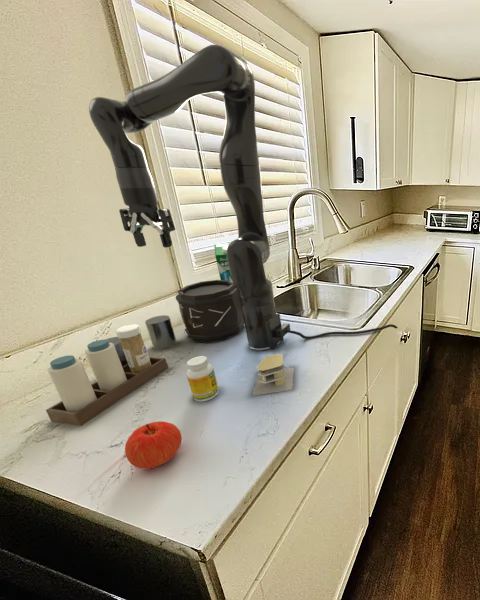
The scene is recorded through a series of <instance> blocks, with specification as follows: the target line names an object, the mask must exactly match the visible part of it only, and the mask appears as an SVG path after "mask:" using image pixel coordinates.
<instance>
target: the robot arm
mask: <svg viewBox="0 0 480 600" xmlns="http://www.w3.org/2000/svg"><path fill="white" fill-rule="evenodd" d="M255 82H256V81H255V76H254V72H253V70H252V67H251V66H250V63H248V62H247V60H245V59H244V58H243V57H242V56H240V55H238V54H237V53H235V52H234V51H232V50H230V49H229V48H227V47H226V46H222V45H220V44H210V45H207V46H205V47H203V48H202V49H200V50H198V51H197V52H196V53H194V54H193V55H192V56H190V57H189V58H187V59H186V60H185V61H184V62H181V64H179V65H178V66H177V67H175V68H173V69H172V70H171V71H169V72H167V73H166V74H163V75H162V76H159V77H158V78H156V79H154V80H152V81H151V80H150V81H149V82H147V83H144V84H141V85H139V86H137V87H134V88H132V89H130V90H129V91H127V93H126V95H125V101H121V100H117V99H112V98H108V97H104V96H97V97H93V98H92V100H90V102H89V105H88V114H89V117H90V120H91V122H92V124H93V126H94V128H95V129H96V131H97V132H98V134H99V136H100V138H101V139H102V141H103V143H104V144H105V146H106V147H107V149H108V151H109V153H110V156H111V160H112V163H113V168H114V171H115V178H116V181H117V184H118V188H119V191H120V193H121V198H122V200H123V204H124V205H125V206H127V208H120V209H119V210H118V211H119V216H120V219H121V223H122V227H123V230H124V232H130V233H131V234H132V236H133V239H134V242H135V244H136V246H137V247H138V248H141V247H146V246H147V242H146V239H145V235H144V233H143V232H142V231H143V229H144V227H145V226H150V227H151V228H153V229H155V230H156V231H157V232H158V233H159V237H160V241H161V245H162V248H165V249H167V248H170V247H172V244H173V242H172V239H171V238H172V237H171V235H170V234H171V232H173V231H176V226H175V224H174V220H173V217H172V214H171V211H170V209H169V208H160V209H159V207H158V205H159V203H160V201H159V197H158V193H157V190H156V186H155V183H154V179H153V176H152V173H151V171H150V169H149V164H148V160H147V157H146V154H145V150H144V148H143V147H142V146H141V145H140V144H138V143H135V142H133V141H132V140H130V138H129V136H128V135H127V134H136V133H139V132H142V131H144V130H145V129H146V128H149V126H151V125H152V124H153V122H156V121H158V120H161V119H164V118H166V117H169V116H171V115H173V114H175V113H178V112H179V111H180V110H181V109H182V108H183V107H184V106H185V104H186V103H187V102H188V101H189V100H191V99H193V98H195V97H198V96H200V95H205V94H210V93H217V94H219V95H222V99H223V104H224V105H223V106H224V111H225V127H224V132H223V135H222V139H221V143H220V146H219V152H218V162H219V169H220V176H221V182H222V186H223V189H224V191H225V194H226V196H227V198H228V200H229V202H230V204H231V206H232V208H233V210H234V214H235V216H236V217H235V218H236V222H237V223H236V224H237V233H238V235H237V238H235V239H233V240H232V241H231V242H229V243H230V244H229V245H228V247H227V261H228V266H229V270H230V274H231V277H232V281H233V284H234V286H235V287H236V289H237V291H238V295H239V300H240V305H241V310H242V315H243V320H244V324H243V325H244V329H245V334H246V338H247V343H248V344H247V345H248V349H249V350H250V351H252V352H266V351H274V350H276V349H277V348H278V347H279V346H280V345H281V344H282V343H283V342H284V341H285V339H284V337H285V336H286V335H287V334H292V335H296V336H299V337H301V338H302V339H303V340H304V339H305V340H312V339H317V338H321V337H325V336H330V335H359V334H367V333H371V332H376V331H382V330H385V329H387V328H394V329H398V326H397V325H395V324H391V323H390V324H386V325H383V326H380V327H375V328H371V329H364V330H357V331H329V332H328V331H327V332H323V333H320V334H316V335H311V336H310V335H309V336H308V335H304V334H303V333H302V332H299V331H295V330H291V324H290V323H285V322H284V323H282V320H281V314H280V313H279V312H277V308H276V302H275V295H274V289H273V288H274V287H273V283H272V281H271V279H269V278H267V275H266V272H265V263H267V262H268V260H269V258H270V254H271V248H270V241H269V237H268V233H267V232H268V231H267V228H266V222H265V216H264V202H263V200H264V199H263V191H262V175H261V166H260V159H259V151H258V139H257V130H256V83H255Z"/></svg>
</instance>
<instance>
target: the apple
mask: <svg viewBox="0 0 480 600" xmlns="http://www.w3.org/2000/svg"><path fill="white" fill-rule="evenodd" d="M182 439H183V436H182V432H181V430H180V429H179V428H178V427H177V426H176V425H175V424H174V423H171V422H168V421H161V420H160V421H153V422H148V423H146V424H143V425H141V426H139V427H137V428H136V429H135V430H134V431H132V433H131V434H130V436H129V437H128V439H127V440H126V442H125V446H124V454H125V457H126V460H127V461H128V463H130V465H132V466H133V467H135V468H136V469H140V470H141V469H142V470H147V469H148V470H149V469H154V468H157V467H160V466H162V465H164V464H166V463H167V462H169V461H170V460H172V459H173V458H174V457H175V456H176V454H177V453H178V451H179V449H180V448H181V445H182V441H183V440H182Z"/></svg>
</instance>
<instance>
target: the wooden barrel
mask: <svg viewBox="0 0 480 600" xmlns="http://www.w3.org/2000/svg"><path fill="white" fill-rule="evenodd" d="M175 300H176V301H177V303H178V308H179V309H178V310H179V312H180V313H179V314H180V317H181V320H182V322H183V325H184V327H185V328H184V331H185V333H186V335H187V337H188V338H189V339H192V342H196V343H203V344H204V343H205V344H207V343H208V344H209V343H215V342H220V341H225V340H227V339H229V338H232V337H235V336H236V335H238V334H239V333H240V332H241V331H242V330H243V328H244V325H245V324H244V320H243V315H242V310H241V305H240V300H239V295H238V291H237V289H236V287H235V286H234V284H233V283H232V282H231V281H228V280H221V279H212V280H204V281H199V282H195V283H192V284H188V285H185V286H184V287H182V288H180V289H179V290H178V294H176V295H175Z"/></svg>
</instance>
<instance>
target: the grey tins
mask: <svg viewBox="0 0 480 600" xmlns="http://www.w3.org/2000/svg"><path fill="white" fill-rule="evenodd" d="M144 324H145V327H146V329H147V333H148V336H149V339H150V342H151V345H152V348H153V349H154V350H155V351H156V350H157V351H158V350H159V351H160V350H166V349H169V348H172V347H174V346H176V344H177V343H178V341H177V338H176V334H175V331H174V327H173V324H172V320H171V317H170V315H166V314H163V315H157V316H153V317H150V318H148V319H145V321H144ZM104 340H108V342H109V343H113V344H114V346H115V349H116V352H117V354H118V357H119V360H120V362H121V365H122V366H124V365H126V364H128V362H127V359H126V357H125V354H124V351H123V347H122V345H121V342H120V339H119V338H118V337H117V336H114V337H113V336H112V337H108V338H105V339H104Z"/></svg>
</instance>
